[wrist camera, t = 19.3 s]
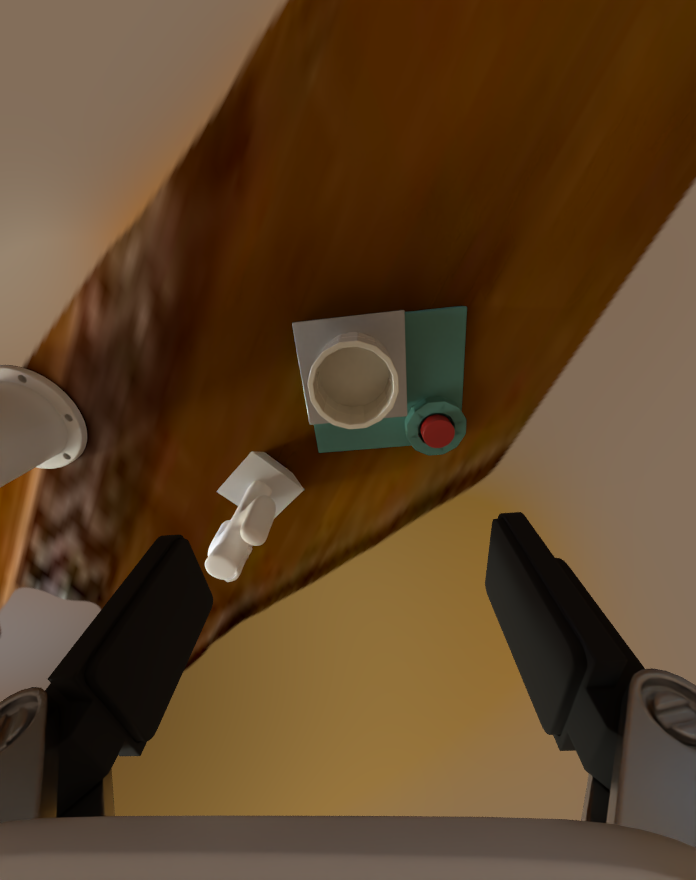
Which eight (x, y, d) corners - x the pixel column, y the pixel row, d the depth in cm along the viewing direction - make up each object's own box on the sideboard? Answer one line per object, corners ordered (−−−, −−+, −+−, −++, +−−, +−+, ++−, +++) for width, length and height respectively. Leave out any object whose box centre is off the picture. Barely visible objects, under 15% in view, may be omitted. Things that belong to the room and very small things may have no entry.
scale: (320, 451, 38) (317, 464, 35) (299, 324, 32) (293, 327, 29) (456, 440, 37) (464, 452, 34) (463, 305, 30) (473, 307, 28)
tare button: (420, 442, 34) (422, 449, 33) (420, 415, 33) (422, 421, 31) (450, 440, 34) (454, 447, 33) (451, 412, 33) (455, 418, 31)
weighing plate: (313, 412, 36) (309, 424, 33) (298, 318, 31) (291, 322, 28) (403, 404, 35) (407, 416, 32) (399, 306, 31) (404, 309, 28)
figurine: (223, 479, 40) (155, 578, 27) (266, 430, 37) (214, 515, 24) (269, 510, 42) (228, 617, 29) (314, 466, 39) (291, 563, 26)
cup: (321, 411, 32) (315, 432, 28) (309, 336, 29) (301, 346, 24) (394, 404, 31) (400, 425, 27) (390, 327, 28) (396, 336, 24)
